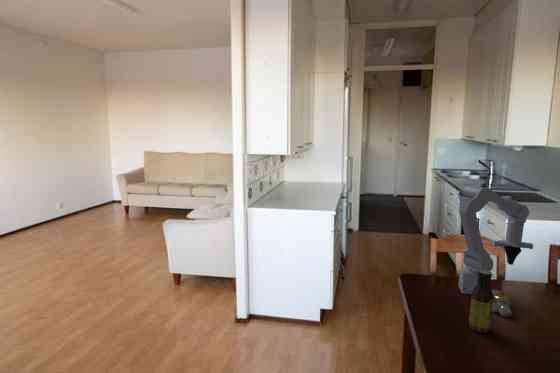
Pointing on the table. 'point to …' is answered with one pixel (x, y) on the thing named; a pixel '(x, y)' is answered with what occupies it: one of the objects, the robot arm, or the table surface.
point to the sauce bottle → (481, 303)
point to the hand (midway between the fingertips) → (510, 263)
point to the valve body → (500, 305)
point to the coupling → (503, 299)
